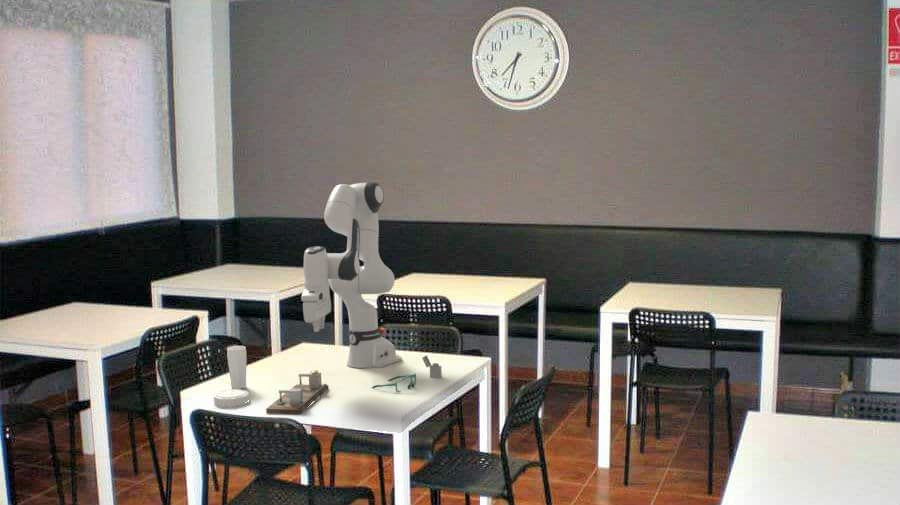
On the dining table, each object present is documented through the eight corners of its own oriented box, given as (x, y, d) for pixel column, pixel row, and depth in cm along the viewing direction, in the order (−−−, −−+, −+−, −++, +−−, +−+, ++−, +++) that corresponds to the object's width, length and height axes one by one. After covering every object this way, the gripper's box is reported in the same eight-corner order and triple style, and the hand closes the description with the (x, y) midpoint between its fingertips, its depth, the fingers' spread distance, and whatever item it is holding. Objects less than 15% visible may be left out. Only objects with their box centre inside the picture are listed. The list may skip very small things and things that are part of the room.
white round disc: (208, 402, 346) (207, 392, 345) (240, 396, 353) (239, 386, 353) (223, 410, 336) (222, 399, 336) (255, 403, 344) (254, 393, 343)
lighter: (441, 377, 369) (441, 356, 368) (440, 378, 368) (439, 357, 367) (424, 375, 372) (423, 354, 371) (422, 377, 370) (421, 356, 369)
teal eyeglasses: (402, 394, 349) (401, 380, 348) (368, 393, 357) (367, 379, 356) (424, 384, 361) (422, 371, 360) (391, 383, 369) (389, 370, 368)
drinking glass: (251, 385, 365) (249, 346, 363) (242, 390, 359) (239, 350, 357) (235, 384, 367) (233, 345, 365) (225, 389, 361) (223, 349, 359)
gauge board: (296, 388, 360) (296, 384, 359) (328, 389, 357) (328, 384, 357) (266, 413, 331) (266, 408, 330) (300, 414, 328) (300, 409, 328)
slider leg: (301, 385, 357) (300, 369, 356) (321, 386, 355) (320, 370, 354) (298, 387, 354) (297, 372, 353) (319, 388, 352) (318, 372, 351)
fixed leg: (302, 385, 358) (301, 371, 357) (326, 385, 356) (326, 372, 356) (274, 408, 331) (273, 393, 330) (300, 408, 329) (299, 394, 328)
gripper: (318, 287, 367) (319, 323, 369) (299, 297, 347) (301, 336, 349) (334, 287, 366) (336, 323, 368) (316, 297, 346) (318, 336, 348)
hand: (319, 329), depth 358 cm, fingers open, 3 cm apart
